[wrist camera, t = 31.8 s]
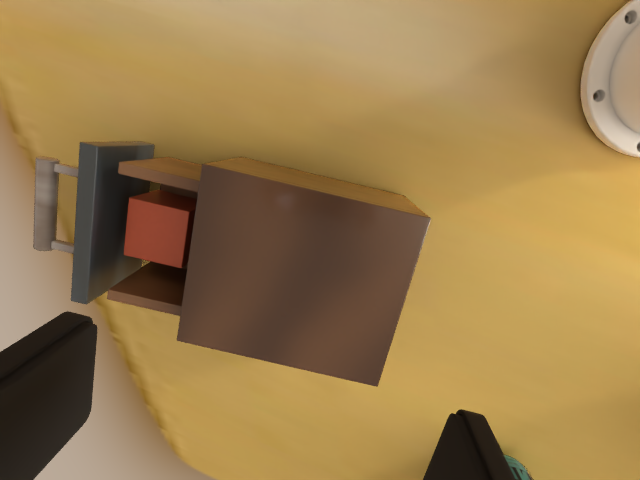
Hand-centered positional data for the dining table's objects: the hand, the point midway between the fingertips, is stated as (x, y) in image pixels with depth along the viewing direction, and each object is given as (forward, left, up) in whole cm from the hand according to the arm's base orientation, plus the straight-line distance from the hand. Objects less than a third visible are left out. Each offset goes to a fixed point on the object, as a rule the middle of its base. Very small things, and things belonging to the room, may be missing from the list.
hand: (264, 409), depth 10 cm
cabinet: (+3, 0, -25) cm, 25 cm away
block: (+3, -11, -23) cm, 25 cm away
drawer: (+3, -12, -24) cm, 26 cm away
